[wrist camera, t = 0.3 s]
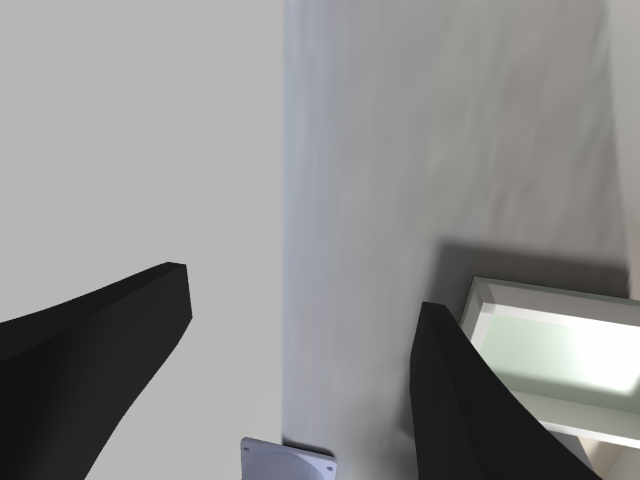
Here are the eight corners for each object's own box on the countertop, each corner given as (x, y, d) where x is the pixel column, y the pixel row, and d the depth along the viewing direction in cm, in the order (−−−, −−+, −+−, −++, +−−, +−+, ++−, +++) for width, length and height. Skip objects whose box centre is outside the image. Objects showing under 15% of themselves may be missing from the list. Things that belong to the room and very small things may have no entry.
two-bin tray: (598, 486, 25) (617, 527, 23) (422, 448, 27) (424, 482, 25) (719, 312, 19) (763, 346, 16) (474, 276, 20) (483, 302, 18)
